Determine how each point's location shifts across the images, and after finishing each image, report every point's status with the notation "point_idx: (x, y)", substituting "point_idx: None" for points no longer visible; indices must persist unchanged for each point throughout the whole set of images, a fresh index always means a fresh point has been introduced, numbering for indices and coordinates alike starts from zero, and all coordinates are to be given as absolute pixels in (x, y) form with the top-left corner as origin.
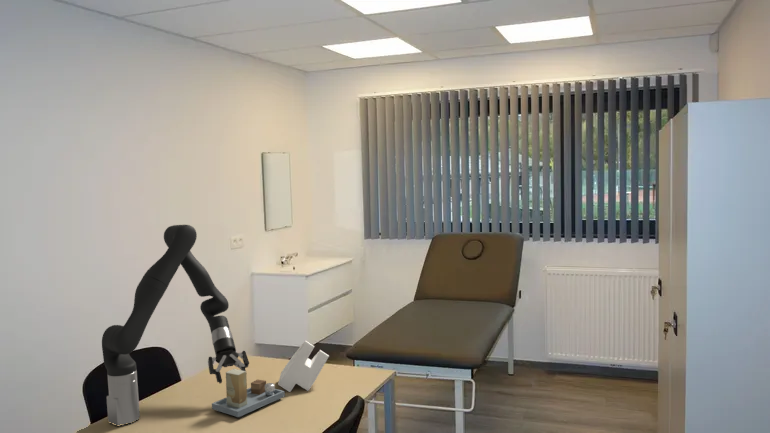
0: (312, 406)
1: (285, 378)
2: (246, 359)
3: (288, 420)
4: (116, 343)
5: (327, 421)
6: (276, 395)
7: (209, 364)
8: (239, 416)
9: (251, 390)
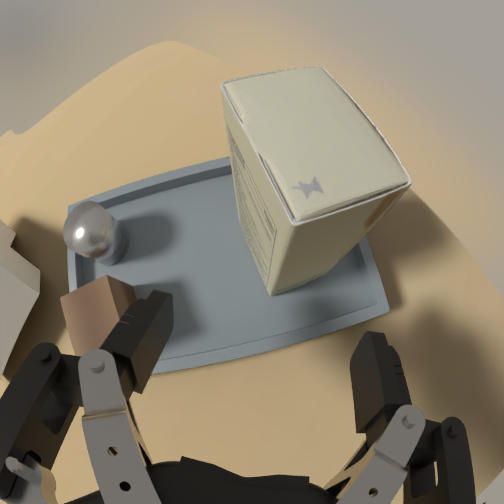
0: (92, 119)
1: (8, 265)
2: (21, 391)
3: (196, 79)
4: None
5: (146, 49)
6: (108, 193)
7: (471, 486)
8: None
9: None
